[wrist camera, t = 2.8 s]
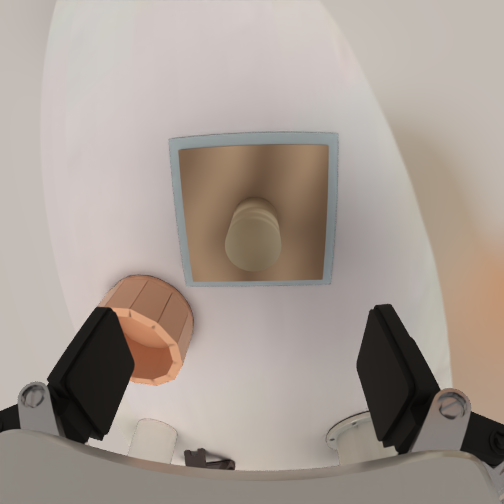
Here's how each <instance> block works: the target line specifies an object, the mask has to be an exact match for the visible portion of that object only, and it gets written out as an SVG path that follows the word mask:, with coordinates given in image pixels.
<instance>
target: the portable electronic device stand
mask: <svg viewBox="0 0 504 504" xmlns="http://www.w3.org/2000/svg"><path fill="white" fill-rule="evenodd" d="M184 456H185V464H186V466H188V467H196V468H207V469H219V470H235V462H234V461H233V460H230V461H229V460H228V461H223V462H215V463H207V464H206V459H205V452H204V449H202V448H201V449H198V454H197V455H196V456H192V455H191V453H190V450H186V451H184Z"/></svg>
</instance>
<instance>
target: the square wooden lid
mask: <svg viewBox="0 0 504 504" xmlns="http://www.w3.org/2000/svg"><path fill="white" fill-rule="evenodd" d="M178 155H179V167H180V179H181V189H182V199H183V208H184V217H185V226H186V234H187V242H188V250H189V257H190V265H191V272H192V278H193V282H237V281H293V280H323V269H324V256H325V241H326V224H327V203H328V167H329V145H314V144H262V145H235V146H217V147H203V148H191V149H181V150H178Z"/></svg>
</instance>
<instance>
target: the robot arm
mask: <svg viewBox="0 0 504 504" xmlns="http://www.w3.org/2000/svg"><path fill="white" fill-rule="evenodd" d="M134 368H135V362H134V359H133V357H132V354H131V351H130V349H129V346H128V344H127V341H126V338H125V336H124V333H123V330H122V328H121V325H120V322H119V319H118V316H117V314H116V312H114V311H113V309H112V308H110V307H96V308H95V309H94V311H93V312H92V313H91V315H90V316H89V317H88V319H87V320H86V322H85V323H84V324H83V326H82V327H81V329H80V330H79V331H78V333H77V334H76V336H75V337H74V339H73V340H72V342H71V343H70V344H69V346H68V347H67V349H66V350H65V352H64V353H63V355H62V356H61V358H60V359H59V361H58V362H57V364H56V365H55V367H54V368H53V370H52V372H51V373H50V375H49V377H48V378H47V380H48V382H49V383H48V385H47V386H46V385H45V384H44V383H42V382H32V383H30V384H28V385H26V386H25V387H24V388H23V389H22V390H21V391H20V393H19V396H18V404H16V405H13V406H11V407H9V408H6V409H4V410H2V411H0V504H504V425H503V424H501V423H498V422H496V421H493V420H491V419H488V418H486V417H484V416H481V415H479V414H476V413H474V412H472V411H471V403H470V400H469V399H468V397H467V396H466V395H465V394H464V393H463V392H461V391H459V390H457V389H453V388H446V389H443V390H440V388H439V386H438V384H437V382H436V380H435V378H434V376H433V374H432V372H431V370H430V368H429V366H428V364H427V363H426V361H425V359H424V357H423V355H422V353H421V351H420V350H419V348H418V346H417V344H416V342H415V341H414V339H413V338H411V337H410V336H409V334H408V332H407V330H406V329H405V327H404V325H403V323H402V322H401V320H400V318H399V317H398V315H397V313H396V312H395V310H394V308H393V307H392V305H391V304H383V305H376V306H375V307H374V309H371V310H370V311H369V315H368V320H367V324H366V328H365V332H364V336H363V340H362V344H361V348H360V352H359V355H358V359H357V372H358V375H359V378H360V381H361V385H362V388H363V391H364V395H365V398H366V401H367V405H368V408H369V412H366V413H362V414H359V415H356V416H353V417H351V418H348V419H346V420H344V421H342V422H341V423H339V424H337V425H336V426H335V427H334V428H332V429H331V430H330V432H329V433H328V435H327V445H328V446H329V447H330V448H332V449H334V450H337V451H338V456H339V463H340V465H338V466H331V467H322V468H312V469H299V470H279V471H239V470H219V469H207V468H196V467H188V466H180V465H173V464H166V463H160V462H155V461H149V460H144V459H139V458H134V457H130V456H125V455H121V454H117V453H113V452H109V451H106V450H102V449H99V448H95V447H91V446H89V443H88V439H89V437H90V438H93V439H97V440H100V441H102V440H103V437H104V435H106V434H108V432H109V430H110V427H111V425H112V422H113V420H114V417H115V415H116V412H117V410H118V407H119V405H120V402H121V400H122V397H123V395H124V392H125V390H126V387H127V385H128V383H129V380H130V378H131V376H132V373H133V371H134Z"/></svg>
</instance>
